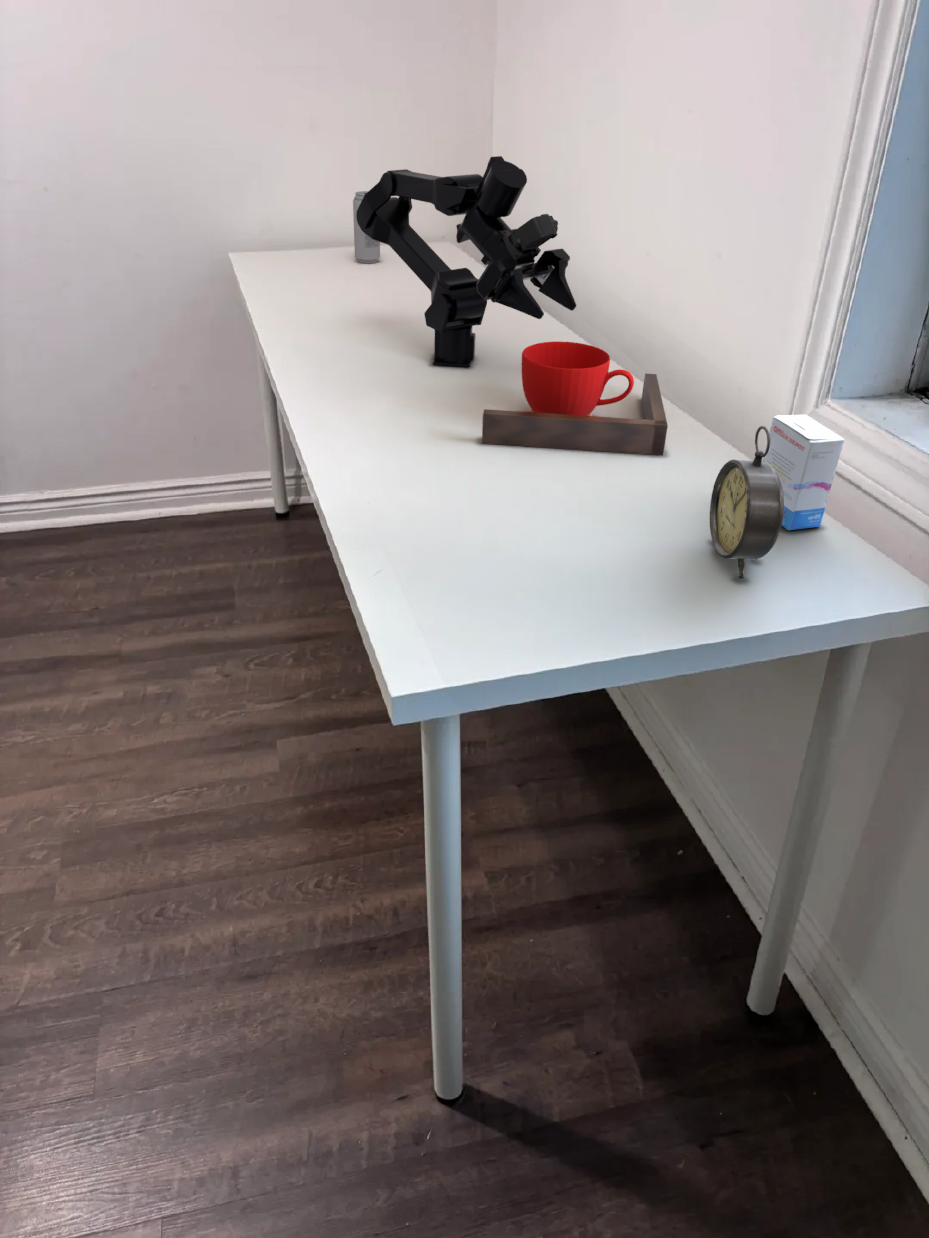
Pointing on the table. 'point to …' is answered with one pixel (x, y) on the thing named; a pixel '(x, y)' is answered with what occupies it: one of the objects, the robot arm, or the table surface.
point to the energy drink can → (363, 237)
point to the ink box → (803, 467)
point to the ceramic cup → (567, 378)
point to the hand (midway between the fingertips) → (558, 312)
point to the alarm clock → (746, 508)
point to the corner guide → (583, 428)
